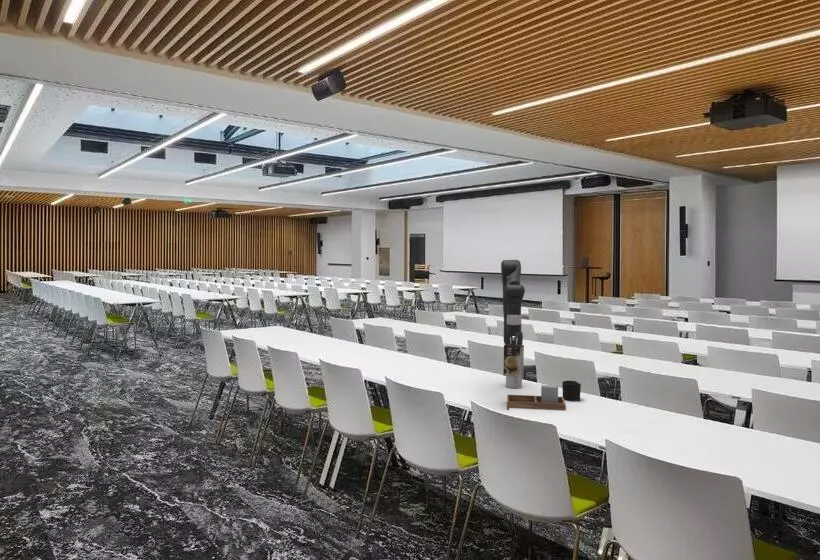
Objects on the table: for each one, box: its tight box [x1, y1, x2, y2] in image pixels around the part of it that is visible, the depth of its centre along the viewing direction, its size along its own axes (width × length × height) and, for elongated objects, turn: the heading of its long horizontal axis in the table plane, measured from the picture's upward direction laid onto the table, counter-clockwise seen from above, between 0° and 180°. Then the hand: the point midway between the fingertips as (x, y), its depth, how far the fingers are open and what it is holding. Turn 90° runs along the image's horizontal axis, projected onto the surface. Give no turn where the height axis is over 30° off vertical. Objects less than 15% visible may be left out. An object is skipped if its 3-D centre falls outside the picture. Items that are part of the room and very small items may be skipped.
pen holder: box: [561, 380, 582, 402], centre depth 307 cm, size 9×9×10 cm
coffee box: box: [502, 344, 525, 378], centre depth 301 cm, size 9×6×16 cm
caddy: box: [506, 394, 567, 411], centre depth 296 cm, size 15×28×4 cm, turn 80°
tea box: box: [540, 384, 559, 404], centre depth 295 cm, size 5×8×10 cm, turn 80°
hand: (513, 354), depth 301 cm, fingers closed on coffee box, 7 cm apart
